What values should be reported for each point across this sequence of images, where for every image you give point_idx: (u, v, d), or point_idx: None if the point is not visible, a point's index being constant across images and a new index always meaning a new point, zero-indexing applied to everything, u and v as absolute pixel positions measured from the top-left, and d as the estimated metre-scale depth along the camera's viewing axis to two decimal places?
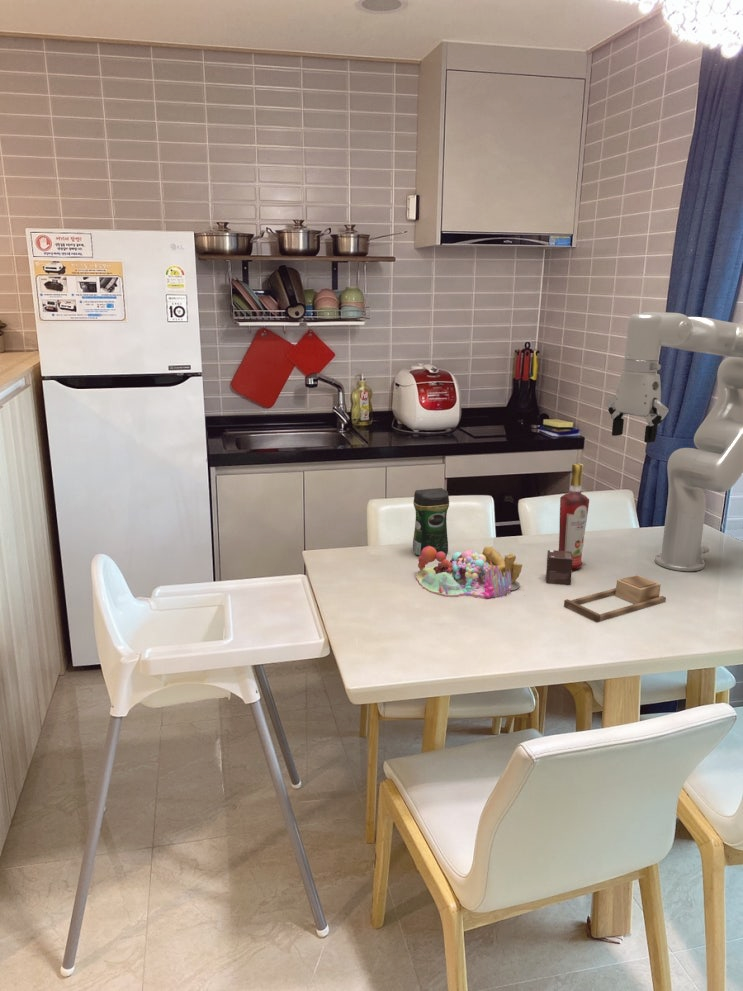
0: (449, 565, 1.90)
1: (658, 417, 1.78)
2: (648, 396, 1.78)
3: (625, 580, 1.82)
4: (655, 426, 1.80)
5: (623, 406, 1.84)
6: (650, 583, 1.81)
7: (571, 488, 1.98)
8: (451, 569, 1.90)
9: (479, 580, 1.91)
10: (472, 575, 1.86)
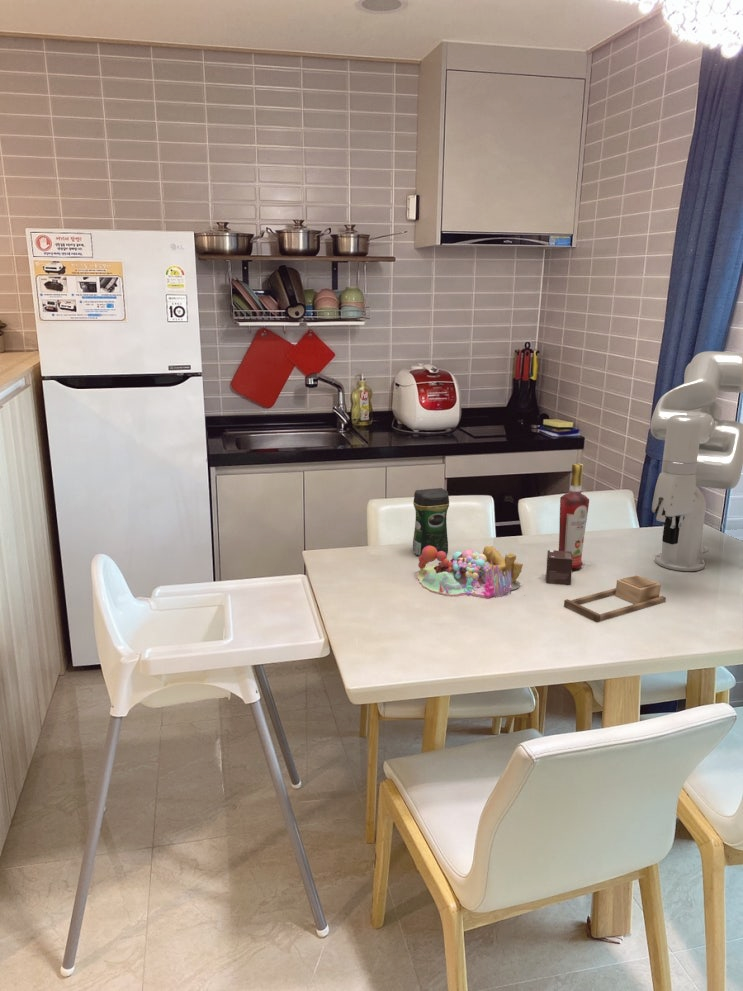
0: (449, 564, 1.91)
1: (683, 517, 1.83)
2: (695, 493, 1.82)
3: (625, 580, 1.82)
4: None
5: (676, 509, 1.79)
6: (650, 583, 1.81)
7: (571, 488, 1.98)
8: (451, 568, 1.90)
9: (479, 579, 1.92)
10: (472, 574, 1.86)
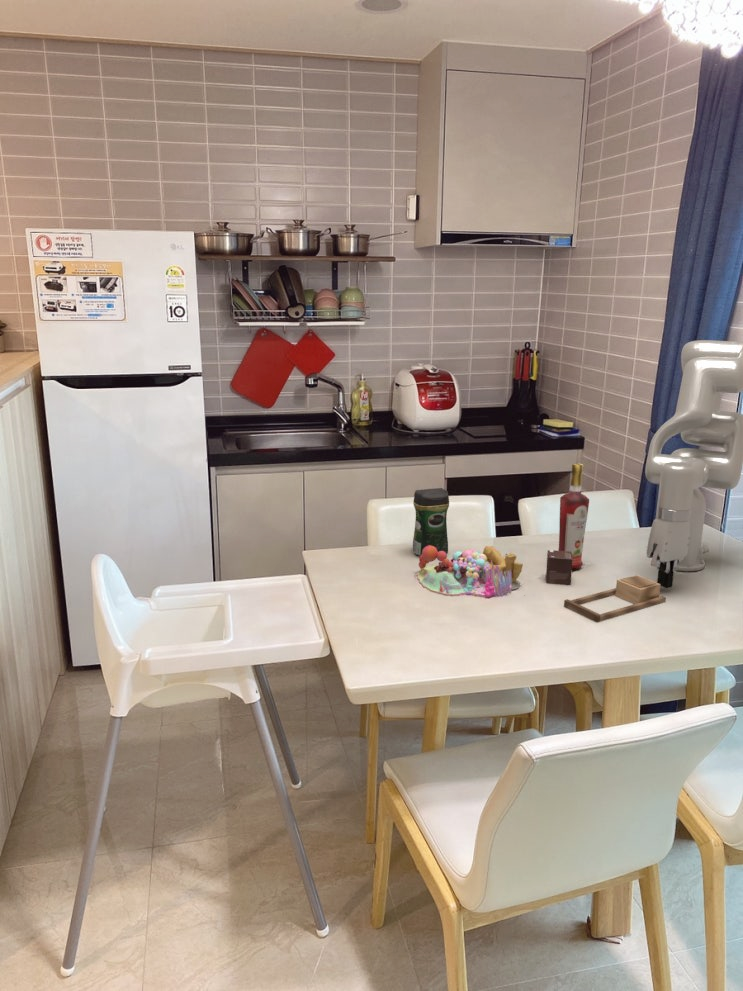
0: (450, 564, 1.91)
1: (678, 560, 1.87)
2: (689, 538, 1.85)
3: (625, 580, 1.82)
4: None
5: (671, 555, 1.82)
6: (650, 583, 1.81)
7: (571, 488, 1.98)
8: (452, 568, 1.90)
9: (480, 579, 1.92)
10: (473, 574, 1.86)
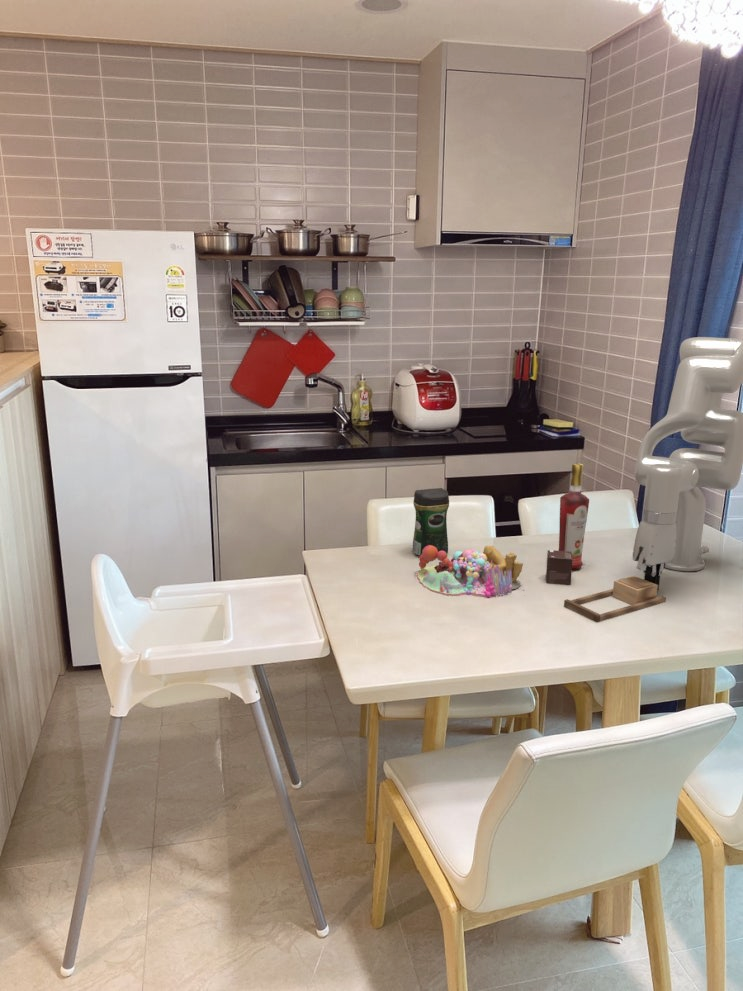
0: (450, 564, 1.91)
1: (664, 564, 1.84)
2: (675, 541, 1.83)
3: (622, 581, 1.82)
4: None
5: (657, 558, 1.80)
6: (647, 584, 1.80)
7: (571, 488, 1.98)
8: (452, 568, 1.91)
9: (480, 579, 1.92)
10: (473, 574, 1.86)
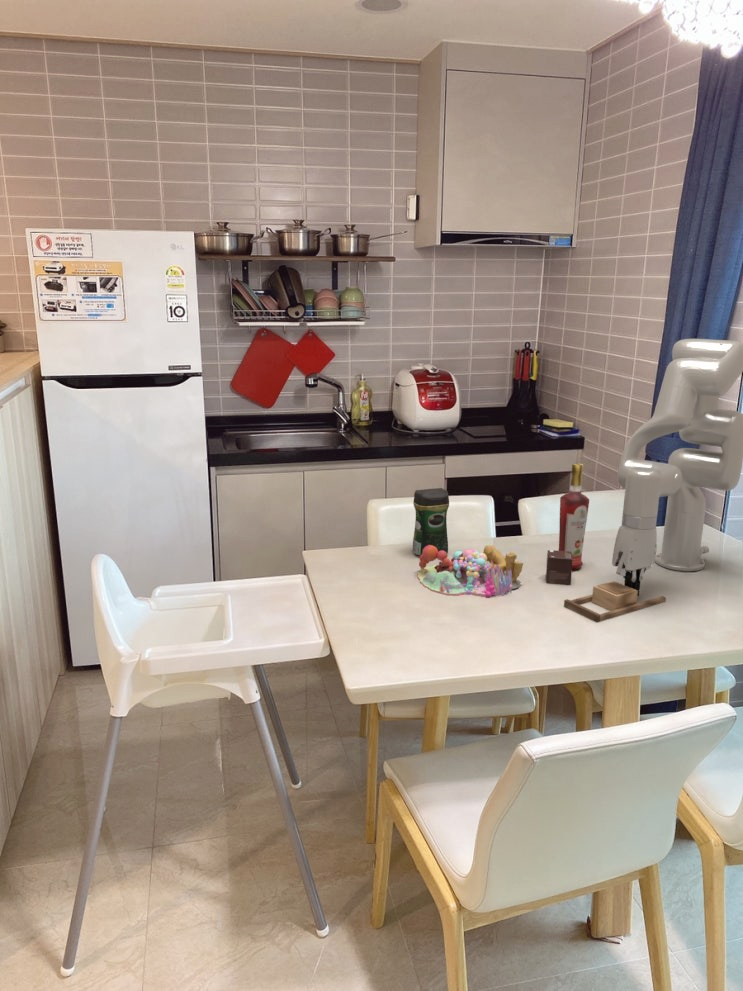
0: (450, 564, 1.91)
1: (645, 569, 1.81)
2: None
3: (602, 586, 1.78)
4: None
5: (636, 563, 1.76)
6: (627, 589, 1.77)
7: (571, 488, 1.98)
8: (452, 568, 1.91)
9: (480, 579, 1.92)
10: (473, 574, 1.86)
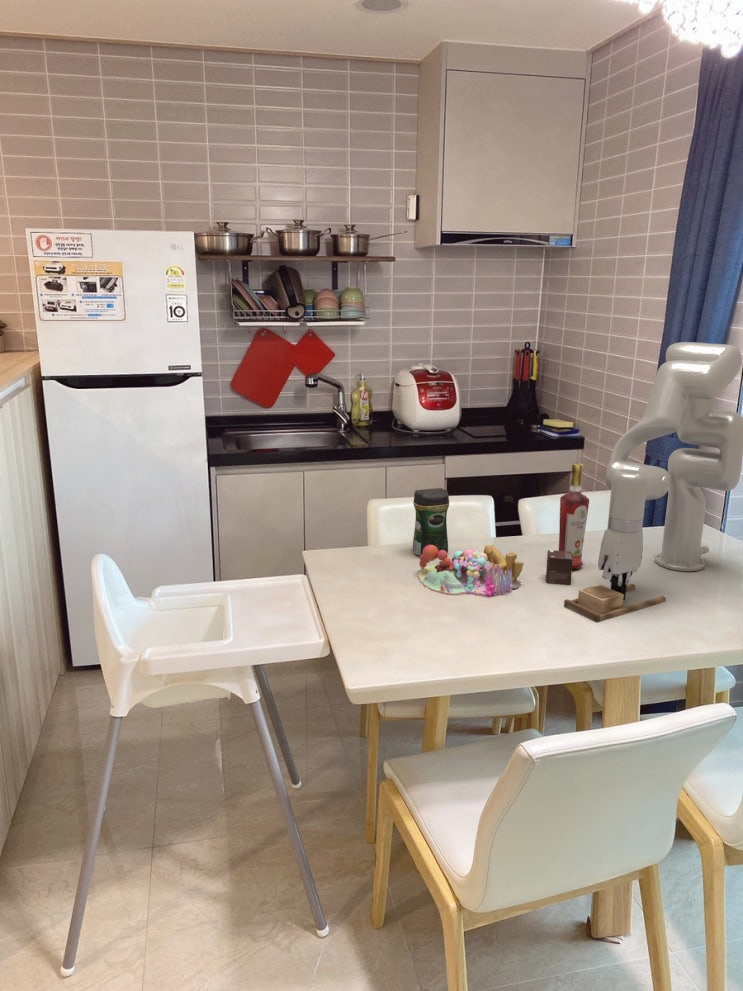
0: (450, 563, 1.91)
1: (631, 573, 1.78)
2: (642, 549, 1.77)
3: (587, 590, 1.76)
4: None
5: (622, 567, 1.74)
6: (613, 593, 1.74)
7: (571, 488, 1.98)
8: (452, 567, 1.91)
9: (480, 578, 1.93)
10: (473, 573, 1.87)
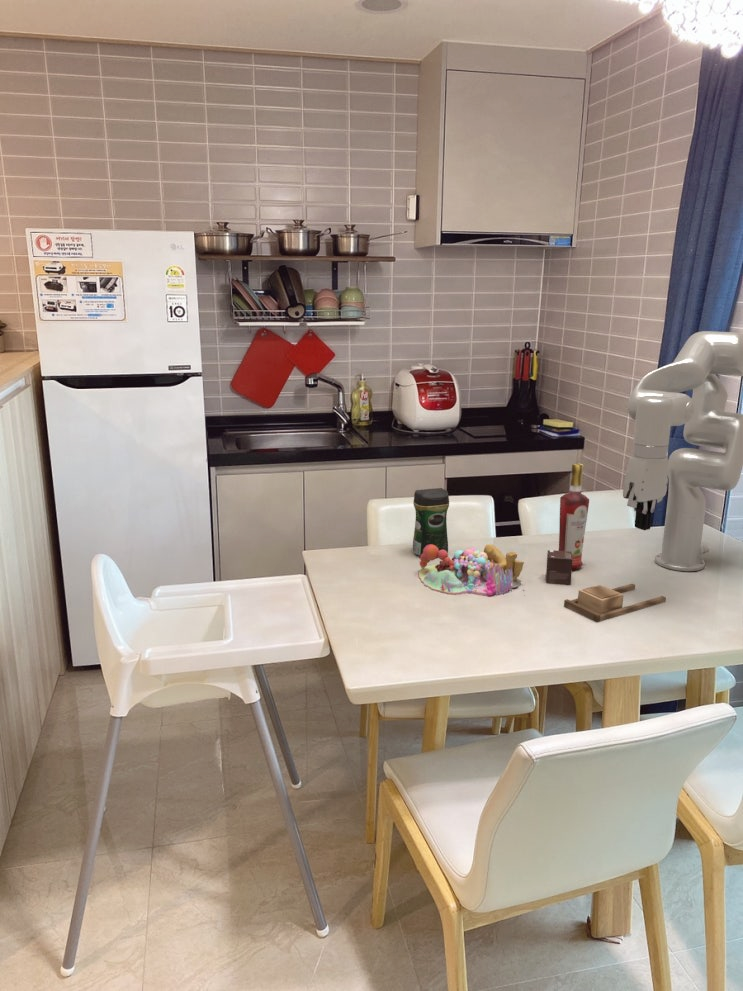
0: (451, 563, 1.92)
1: (656, 501, 1.77)
2: (667, 477, 1.76)
3: (587, 590, 1.76)
4: None
5: (648, 494, 1.73)
6: (613, 593, 1.74)
7: (571, 488, 1.98)
8: (453, 567, 1.91)
9: (481, 578, 1.93)
10: (474, 573, 1.87)
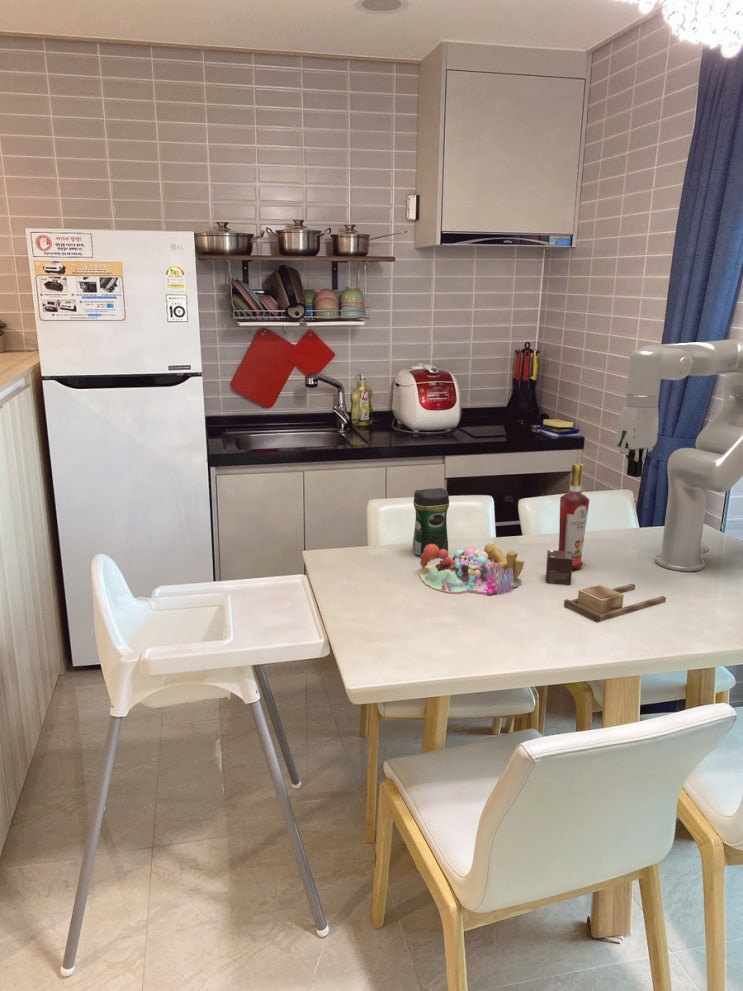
0: (451, 562, 1.92)
1: (647, 450, 1.88)
2: None
3: (587, 590, 1.76)
4: None
5: (639, 442, 1.84)
6: (613, 593, 1.74)
7: (571, 488, 1.98)
8: (454, 566, 1.92)
9: (481, 577, 1.93)
10: (475, 572, 1.88)
